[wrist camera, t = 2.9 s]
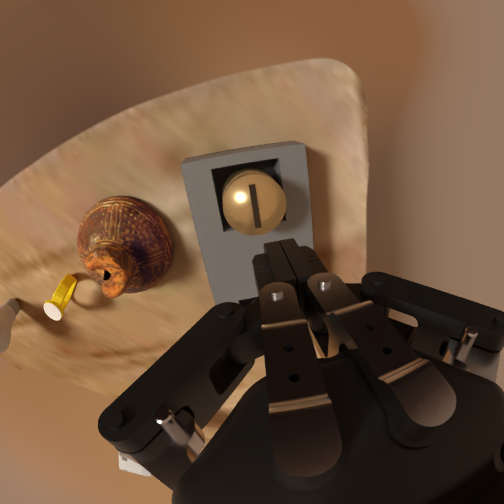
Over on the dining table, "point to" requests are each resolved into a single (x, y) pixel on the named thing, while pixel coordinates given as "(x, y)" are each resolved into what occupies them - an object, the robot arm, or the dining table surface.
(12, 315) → the lightbulb
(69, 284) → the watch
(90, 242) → the broken clay vessel
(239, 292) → the knob mount
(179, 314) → the dining table surface
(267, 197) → the brass knob
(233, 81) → the dining table surface
